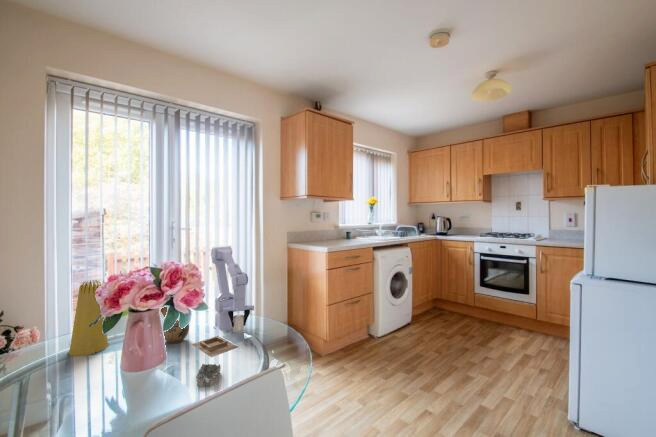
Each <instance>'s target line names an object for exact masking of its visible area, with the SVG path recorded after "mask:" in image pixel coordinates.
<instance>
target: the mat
mask: <svg viewBox="0 0 656 437" xmlns="http://www.w3.org/2000/svg"><path fill="white" fill-rule="evenodd" d="M244 333H247V332H246V331H242V332H232V333H229V334H226V335H223V336H222V338H223V339H224V340H226V341H228V342H230V343H232V344H233V343H234V344H237V343H241V342H243V341H246V340H247V339H245V338H244Z"/></svg>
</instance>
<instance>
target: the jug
mask: <svg viewBox="0 0 656 437" xmlns="http://www.w3.org/2000/svg"><path fill="white" fill-rule="evenodd" d="M233 324H234V327H233V329H232V331H233V333H235V332H242V331H244V330H245V326H244V314H236V315H234V316H233ZM244 332H245V331H244Z"/></svg>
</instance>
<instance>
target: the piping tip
mask: <svg viewBox="0 0 656 437" xmlns="http://www.w3.org/2000/svg"><path fill="white" fill-rule="evenodd" d="M101 285H102V283H101V282H100V281H99V280H96V279H94V280H91V279H90V281H89V280H86V281H84V282H82V283H81V284H80V285H79V288H78V294H77V299H76V300H77V301H76V306H75V307H76V308H75V315H74V320H73V321H74V322H73V326H72V334H71V340H70V346H69V350H68V355H69V356H72V357H83V356H84V357H85V356H89V355H93V354H96V353H95V352H97V353H99V352H102V351H104V350H105V348H106V347H107V348H108V347H109V339H108V333H107V334H105V335H104V334H103V333H102V322H103V319H104V317H102V318H100V320H99V321H98V323H96V324H95V325H93V326H91V327H89V325H90V324H91V323H93V322H94V321H95V320H96V319H97V318H98V317H99V315H100V313H101V310H100V305H99V304H98V303H97V301H96V298H95V291H96V289H97V288H98V287H99V286H101ZM107 348H106V349H107ZM103 349H104V350H103ZM101 350H102V351H101ZM92 353H93V354H92Z"/></svg>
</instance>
